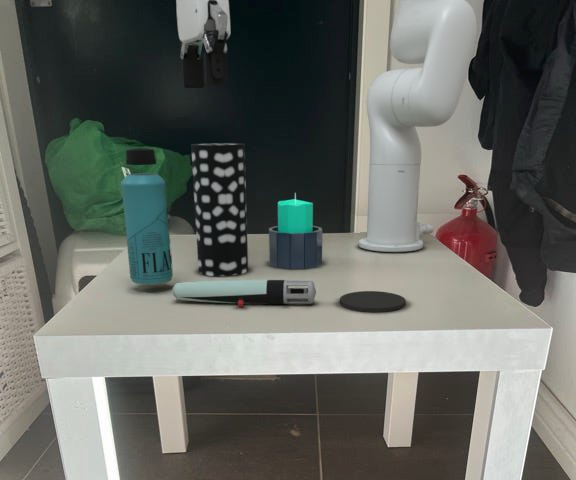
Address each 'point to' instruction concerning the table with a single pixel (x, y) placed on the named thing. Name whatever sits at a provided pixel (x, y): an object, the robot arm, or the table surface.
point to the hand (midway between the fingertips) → (204, 86)
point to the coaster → (372, 301)
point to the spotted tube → (220, 208)
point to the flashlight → (246, 291)
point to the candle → (295, 216)
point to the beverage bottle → (146, 221)
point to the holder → (295, 249)
